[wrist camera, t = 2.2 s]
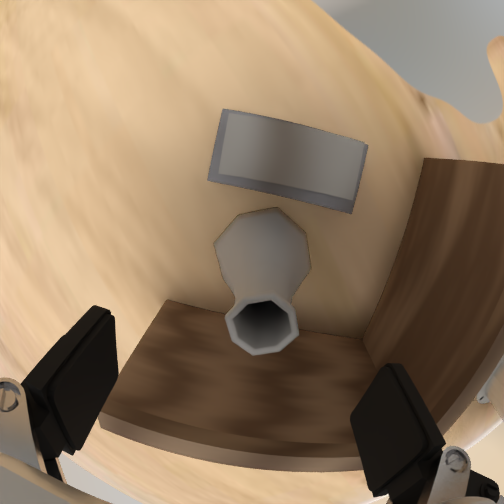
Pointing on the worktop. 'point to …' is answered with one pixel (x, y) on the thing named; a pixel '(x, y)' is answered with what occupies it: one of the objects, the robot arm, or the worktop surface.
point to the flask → (263, 278)
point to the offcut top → (291, 155)
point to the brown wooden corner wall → (332, 347)
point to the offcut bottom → (274, 188)
